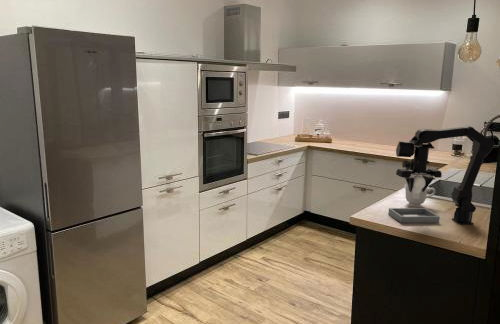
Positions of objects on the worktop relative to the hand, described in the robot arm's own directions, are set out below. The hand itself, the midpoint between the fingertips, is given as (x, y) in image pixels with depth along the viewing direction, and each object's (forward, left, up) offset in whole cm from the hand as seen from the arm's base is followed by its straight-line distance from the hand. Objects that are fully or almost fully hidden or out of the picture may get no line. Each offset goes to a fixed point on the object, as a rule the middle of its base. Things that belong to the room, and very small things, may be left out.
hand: (416, 191), depth 176 cm
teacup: (-13, -19, -13) cm, 27 cm away
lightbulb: (0, 0, -4) cm, 4 cm away
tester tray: (0, 0, -13) cm, 13 cm away
